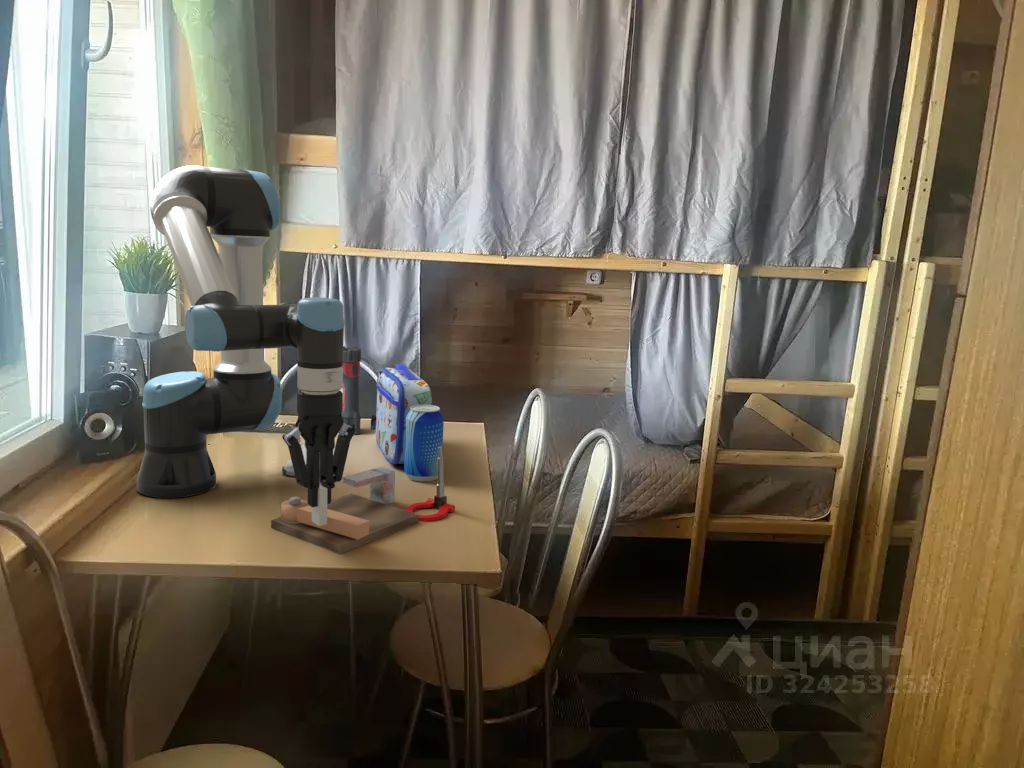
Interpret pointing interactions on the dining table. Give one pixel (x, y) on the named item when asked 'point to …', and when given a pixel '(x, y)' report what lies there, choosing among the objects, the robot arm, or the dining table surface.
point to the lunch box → (396, 408)
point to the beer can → (423, 442)
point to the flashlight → (351, 387)
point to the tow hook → (435, 497)
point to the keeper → (375, 483)
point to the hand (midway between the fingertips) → (319, 522)
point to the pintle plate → (377, 513)
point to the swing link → (335, 520)
